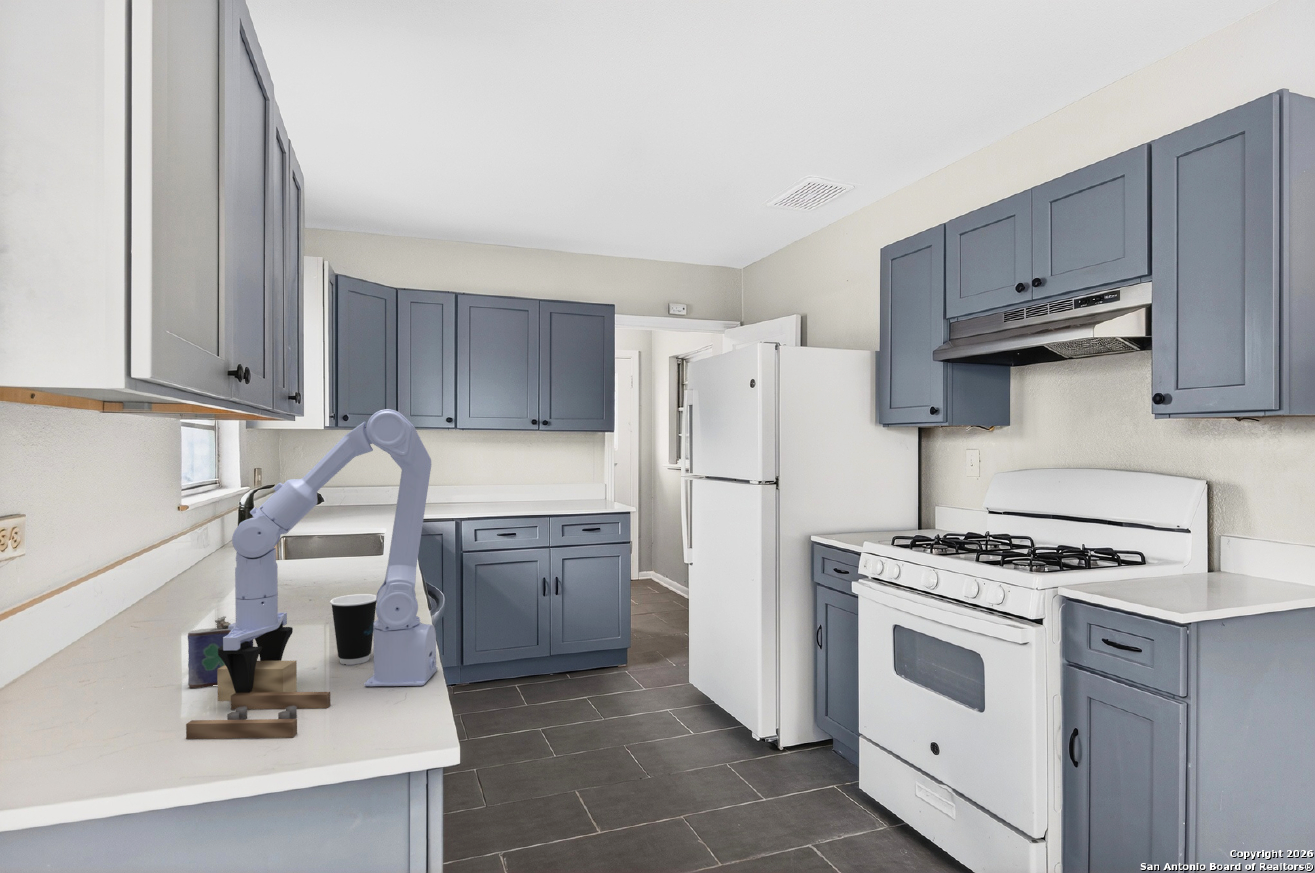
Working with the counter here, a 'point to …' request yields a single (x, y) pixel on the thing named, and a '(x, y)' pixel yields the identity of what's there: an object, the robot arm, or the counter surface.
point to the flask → (206, 654)
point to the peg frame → (259, 727)
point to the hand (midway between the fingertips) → (257, 683)
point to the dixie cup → (354, 626)
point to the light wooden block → (262, 678)
